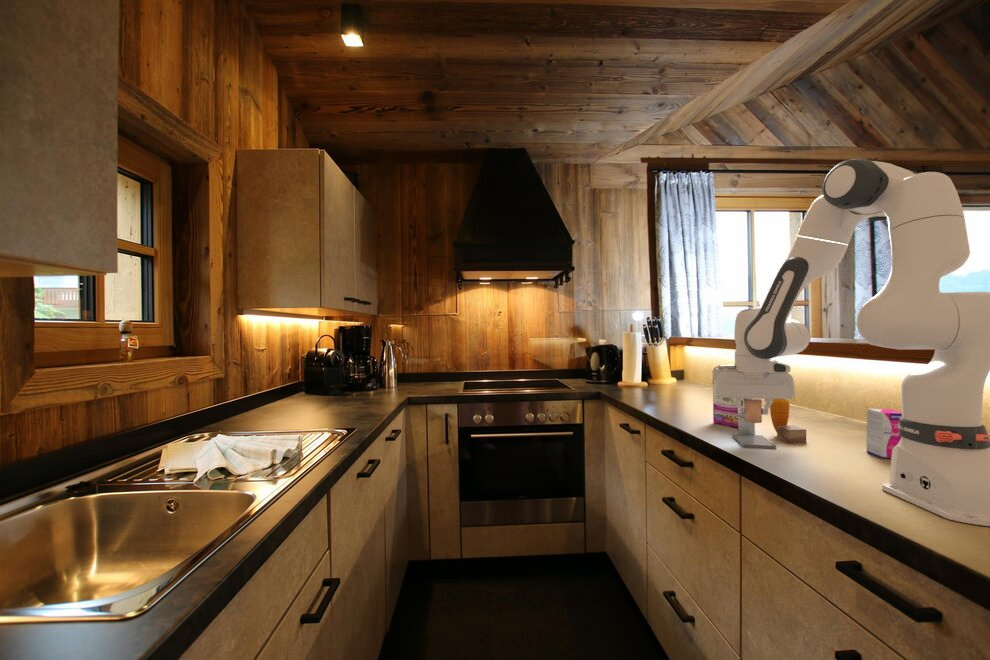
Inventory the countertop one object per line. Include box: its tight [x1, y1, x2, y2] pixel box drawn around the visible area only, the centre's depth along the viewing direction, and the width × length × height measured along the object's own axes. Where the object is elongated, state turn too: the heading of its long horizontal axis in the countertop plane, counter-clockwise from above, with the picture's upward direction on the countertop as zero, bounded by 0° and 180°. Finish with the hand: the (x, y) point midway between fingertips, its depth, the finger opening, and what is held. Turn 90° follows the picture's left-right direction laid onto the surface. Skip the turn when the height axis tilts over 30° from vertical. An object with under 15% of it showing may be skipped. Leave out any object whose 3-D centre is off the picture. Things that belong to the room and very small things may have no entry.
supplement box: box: [866, 408, 902, 459], centre depth 113 cm, size 6×6×12 cm
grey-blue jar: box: [737, 413, 756, 435], centre depth 137 cm, size 4×4×6 cm
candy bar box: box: [712, 378, 745, 429], centre depth 150 cm, size 11×5×16 cm, turn 25°
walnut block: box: [776, 425, 807, 445], centre depth 129 cm, size 5×5×4 cm
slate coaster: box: [731, 433, 777, 450], centre depth 128 cm, size 12×8×1 cm, turn 165°
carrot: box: [769, 399, 790, 433], centre depth 135 cm, size 5×5×15 cm
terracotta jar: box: [744, 398, 763, 424], centre depth 128 cm, size 4×4×6 cm
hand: (752, 413), depth 128 cm, fingers closed on terracotta jar, 4 cm apart
